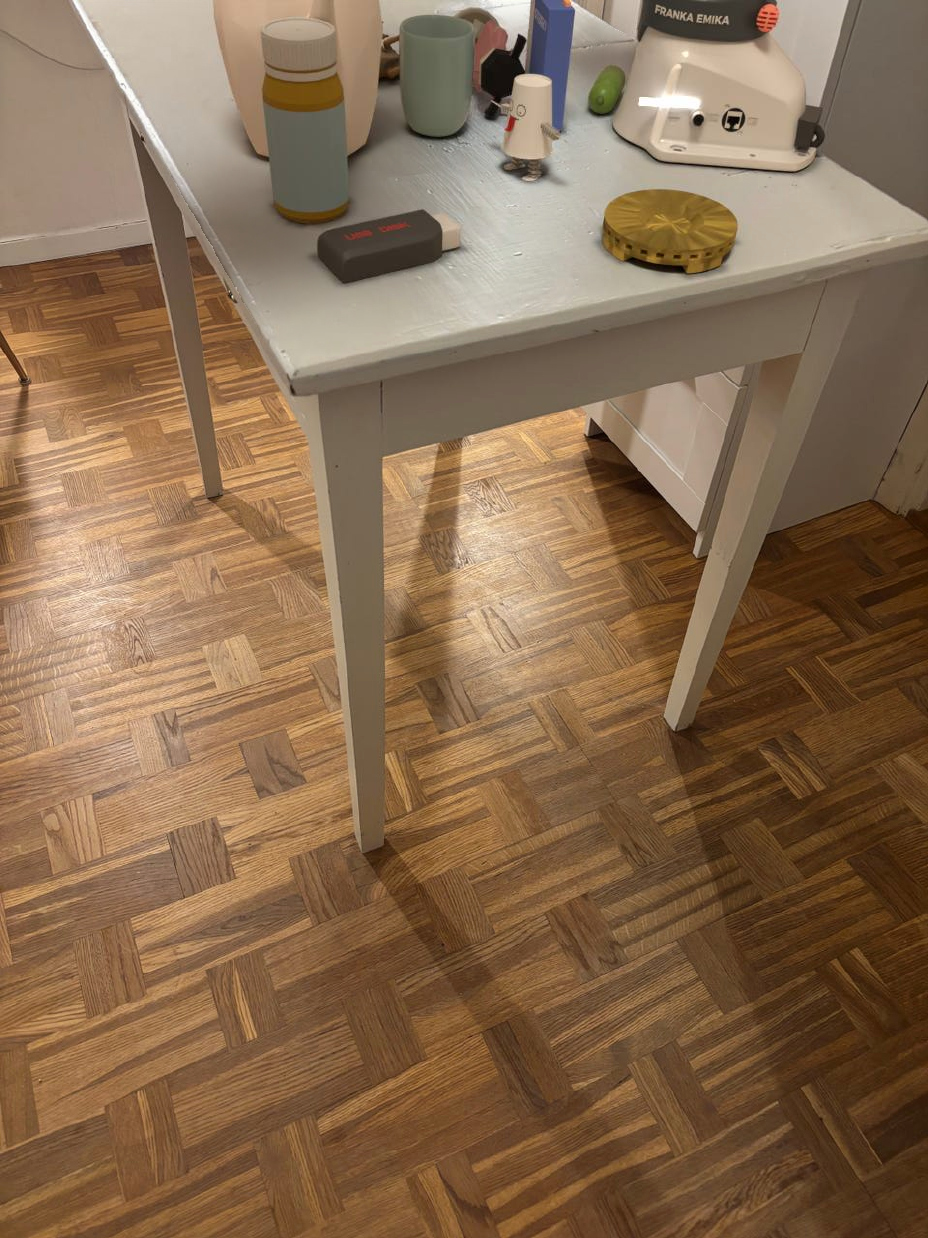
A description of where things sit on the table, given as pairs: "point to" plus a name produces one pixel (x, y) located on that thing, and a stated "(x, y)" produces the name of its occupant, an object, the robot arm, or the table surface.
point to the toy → (493, 57)
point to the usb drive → (387, 244)
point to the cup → (436, 72)
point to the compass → (669, 229)
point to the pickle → (607, 89)
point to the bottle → (305, 119)
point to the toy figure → (529, 123)
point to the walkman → (551, 48)
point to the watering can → (359, 29)
